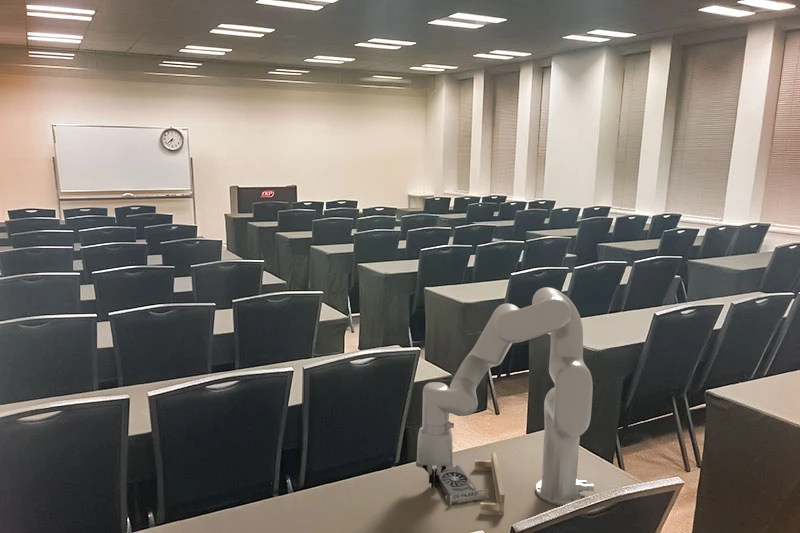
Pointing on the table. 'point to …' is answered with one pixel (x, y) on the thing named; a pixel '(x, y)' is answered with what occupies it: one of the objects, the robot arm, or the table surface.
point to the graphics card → (459, 486)
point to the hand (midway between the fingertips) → (433, 485)
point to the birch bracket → (499, 492)
